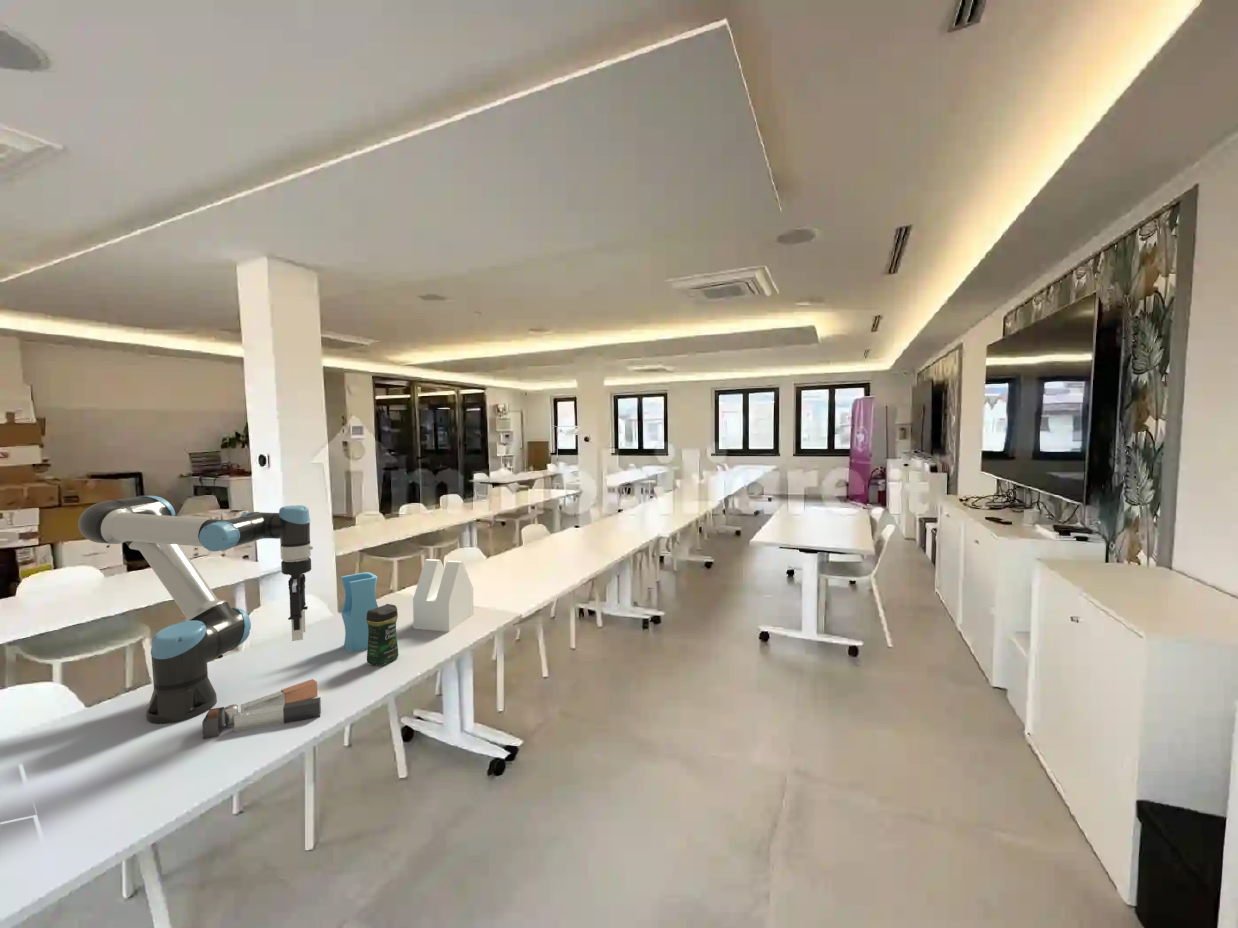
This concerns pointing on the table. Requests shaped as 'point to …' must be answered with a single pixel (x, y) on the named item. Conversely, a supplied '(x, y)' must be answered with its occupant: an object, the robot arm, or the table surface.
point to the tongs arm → (274, 700)
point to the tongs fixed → (261, 716)
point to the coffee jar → (382, 635)
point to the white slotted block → (442, 596)
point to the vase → (358, 608)
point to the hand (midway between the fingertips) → (299, 635)
